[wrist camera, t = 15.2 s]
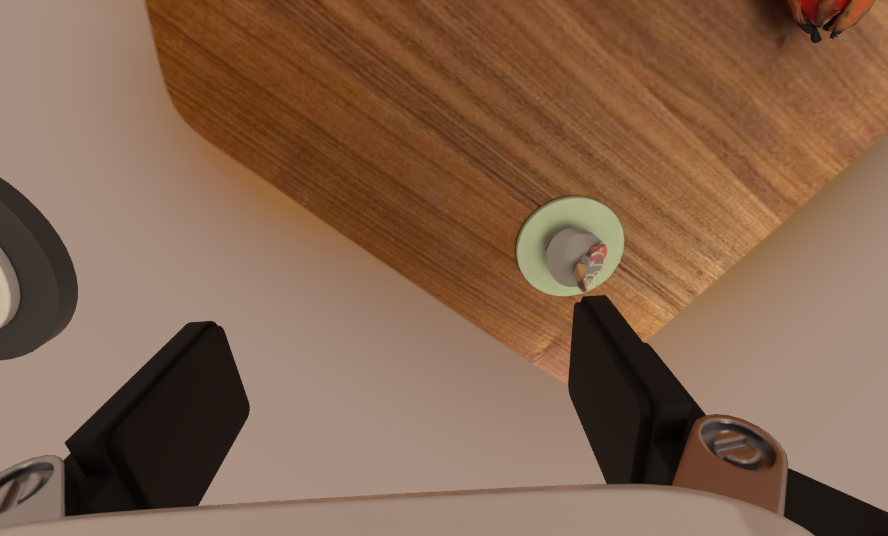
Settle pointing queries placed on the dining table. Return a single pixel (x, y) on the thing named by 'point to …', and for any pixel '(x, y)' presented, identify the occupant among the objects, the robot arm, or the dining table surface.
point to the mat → (555, 219)
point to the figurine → (575, 257)
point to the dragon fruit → (828, 15)
